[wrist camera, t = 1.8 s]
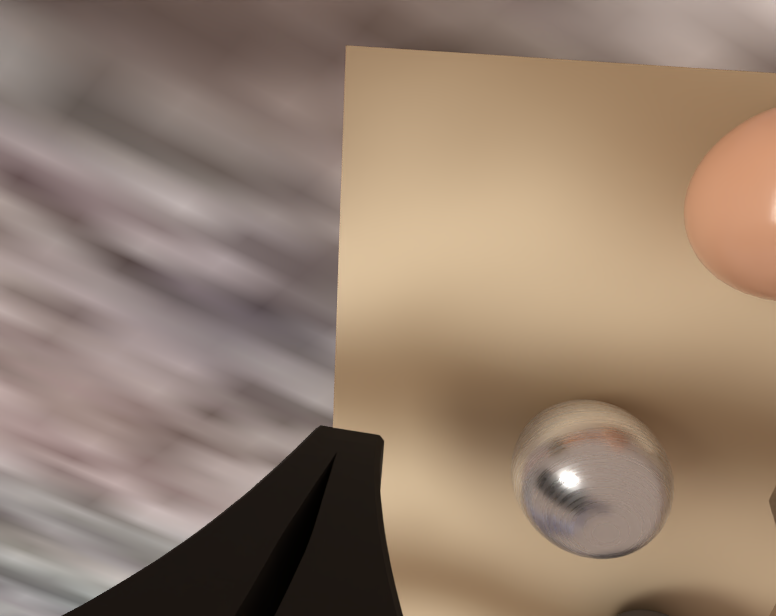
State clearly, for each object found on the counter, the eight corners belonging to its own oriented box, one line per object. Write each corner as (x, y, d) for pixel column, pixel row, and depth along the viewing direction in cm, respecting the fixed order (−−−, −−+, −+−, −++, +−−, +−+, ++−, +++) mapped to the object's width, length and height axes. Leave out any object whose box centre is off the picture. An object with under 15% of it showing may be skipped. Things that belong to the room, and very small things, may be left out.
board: (963, 662, 16) (1045, 755, 14) (345, 546, 18) (327, 609, 16) (1387, 124, 10) (1667, 130, 7) (370, 55, 12) (346, 45, 10)
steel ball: (626, 493, 13) (671, 611, 10) (497, 472, 13) (503, 579, 10) (662, 383, 11) (726, 480, 9) (518, 364, 12) (532, 449, 9)
